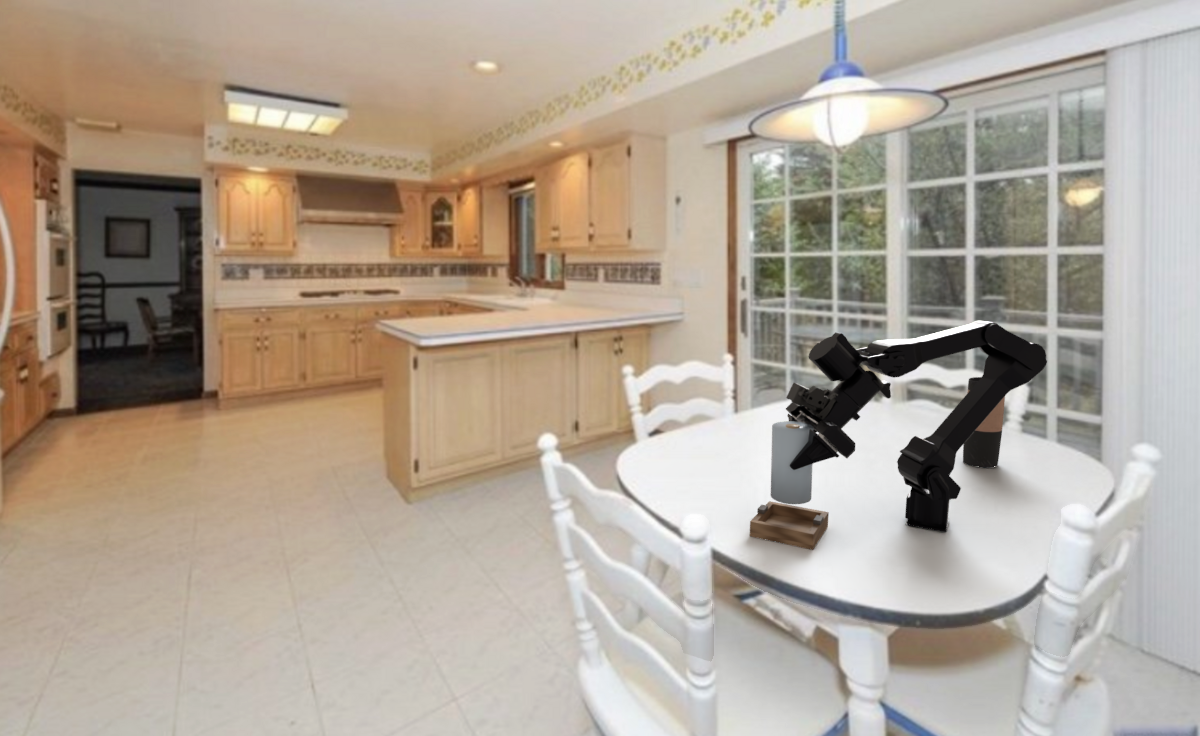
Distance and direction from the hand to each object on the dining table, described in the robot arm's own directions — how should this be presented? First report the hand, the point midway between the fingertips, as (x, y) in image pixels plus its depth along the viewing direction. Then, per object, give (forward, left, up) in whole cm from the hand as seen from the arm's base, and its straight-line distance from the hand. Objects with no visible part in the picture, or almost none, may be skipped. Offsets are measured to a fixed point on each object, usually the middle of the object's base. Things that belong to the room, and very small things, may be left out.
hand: (784, 461), depth 115 cm
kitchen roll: (-1, -1, -7) cm, 7 cm away
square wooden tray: (-1, -1, -13) cm, 13 cm away
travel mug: (-29, -61, -13) cm, 69 cm away
